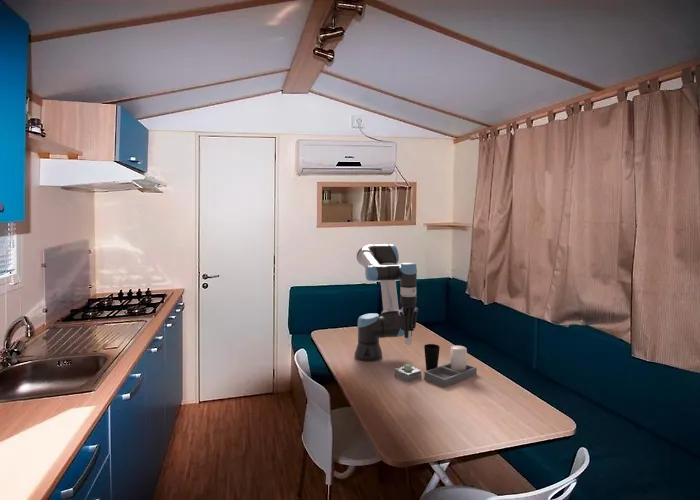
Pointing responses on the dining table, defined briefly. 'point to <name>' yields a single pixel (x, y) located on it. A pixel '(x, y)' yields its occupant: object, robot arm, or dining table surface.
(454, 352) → the billet
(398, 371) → the grey square socket block
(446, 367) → the grey divided tray
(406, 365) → the button
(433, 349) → the cup
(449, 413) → the dining table surface
